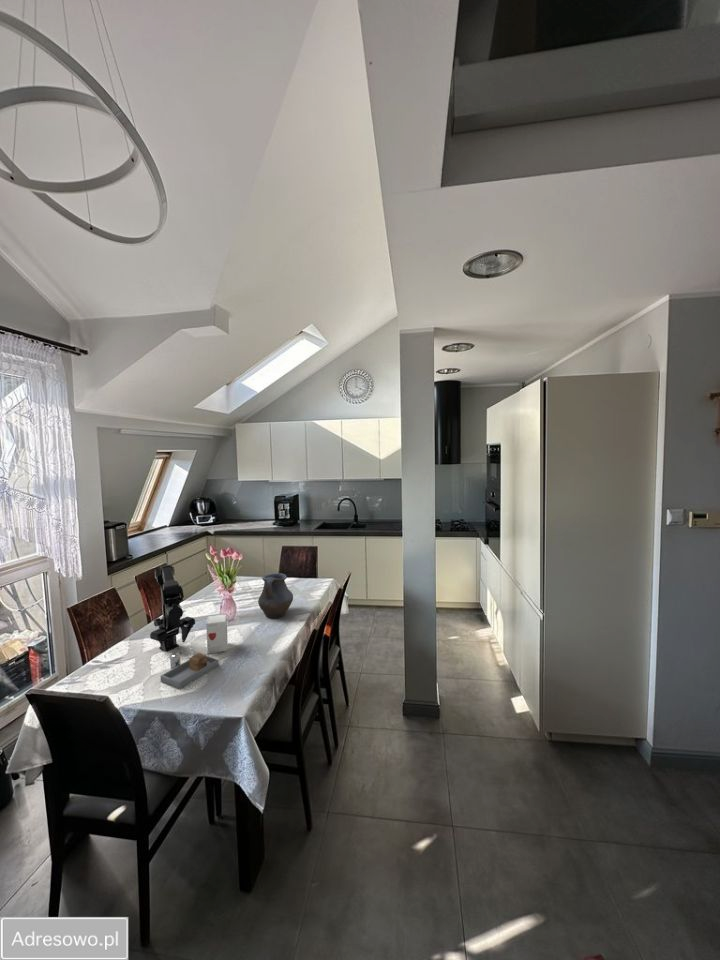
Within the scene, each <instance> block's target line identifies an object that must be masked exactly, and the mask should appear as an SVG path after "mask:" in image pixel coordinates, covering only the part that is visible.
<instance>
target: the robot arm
mask: <svg viewBox="0 0 720 960" xmlns="http://www.w3.org/2000/svg"><path fill="white" fill-rule="evenodd" d="M175 575H176V574H175V567H174V566H172V565H171V564H166V565H162V566H160V567H159V568H156V569H155V570H154V578H155V580H156V582H157V584H158V585H159V586H160V593H161V594H160V595H161V596H160V597H161V606H162V608H161V609H162V617H161V618H160V617H157V618H155V619H154V620H153V625H154V627H156V628H157V627H158V629H155V630H153V631H151V632H150V634H149V636H150V639H151V640H154V641H157V642H158V643H159V645H160V646H159V649H160V650H162V651H163V652H165V653H166V652H169V651H171V650H173V649H175V648H177V647H179V645H180V644H178V643H177V635H179V634H180V631H181V641H182V643H185V642H186V640H187V638H188V636H189V634H190V632H191V630H192V628H194V625H196V619H195V618H194V617H190V616H185V617H183V615H184V611H183V609H182V606H181V605H180V602H183V601H184V589H183V587H182V585H180V582H178V581H177V580H175V578H174V577H175ZM182 617H183V618H182Z"/></svg>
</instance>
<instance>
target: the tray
mask: <svg viewBox="0 0 720 960" xmlns="http://www.w3.org/2000/svg"><path fill="white" fill-rule="evenodd" d="M206 656H207V666H205V667H204V668H202V669H200V670H199V671H195V670H192V669H190V662H189V659H188V660H186V661H185V662H183V663H181V665H179V666H177V667H175V668H173V669H171V668H170V670H168V671H166V672H164V673H163V674H160V682H161V683H163V684H166V685H168V686H171V687H173V688H175V689H178V690H182V689H183V688H184V687H186V686H187V685H189V684H191V683H193V682H194V681H196V680H198V679H199V678H201V677H202V676H203V675H206V674H207V673H209V672H211V671H212V670H214V669H216V667H219V666H220V664H219V663H220V662H219V659H218V658H215V657H211V656H208V655H206Z"/></svg>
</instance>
